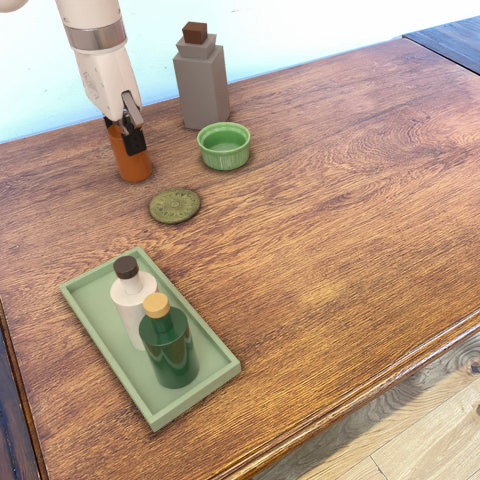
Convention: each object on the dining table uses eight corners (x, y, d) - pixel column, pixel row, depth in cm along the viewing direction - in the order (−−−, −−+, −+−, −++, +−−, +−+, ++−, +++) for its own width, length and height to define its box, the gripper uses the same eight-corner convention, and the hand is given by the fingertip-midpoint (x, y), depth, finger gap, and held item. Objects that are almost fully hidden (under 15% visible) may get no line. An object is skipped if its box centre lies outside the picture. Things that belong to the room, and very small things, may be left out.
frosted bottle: (122, 332, 63) (91, 261, 54) (158, 310, 66) (135, 239, 56) (141, 359, 61) (113, 289, 51) (178, 336, 63) (158, 265, 54)
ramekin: (262, 152, 91) (261, 131, 88) (231, 179, 85) (228, 158, 82) (222, 137, 94) (219, 116, 91) (189, 162, 88) (185, 140, 85)
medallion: (186, 228, 77) (185, 225, 76) (139, 217, 78) (138, 213, 78) (209, 195, 82) (208, 192, 82) (165, 185, 84) (164, 182, 83)
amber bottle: (115, 171, 86) (96, 113, 78) (143, 159, 89) (128, 102, 81) (129, 186, 84) (111, 128, 76) (158, 173, 86) (144, 116, 78)
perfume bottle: (220, 132, 95) (207, 36, 82) (185, 127, 96) (167, 32, 83) (230, 112, 100) (220, 19, 87) (197, 109, 100) (182, 16, 88)
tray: (63, 295, 68) (57, 285, 66) (142, 255, 73) (139, 245, 72) (154, 432, 55) (150, 424, 54) (241, 371, 61) (240, 362, 59)
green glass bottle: (147, 367, 60) (120, 299, 51) (185, 343, 62) (165, 274, 53) (169, 397, 57) (144, 331, 48) (207, 372, 60) (190, 303, 50)
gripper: (44, 17, 72) (83, 128, 85) (97, 63, 63) (131, 179, 76) (95, 5, 75) (125, 113, 88) (152, 46, 66) (176, 159, 79)
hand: (128, 142), depth 82 cm, fingers closed on amber bottle, 5 cm apart
